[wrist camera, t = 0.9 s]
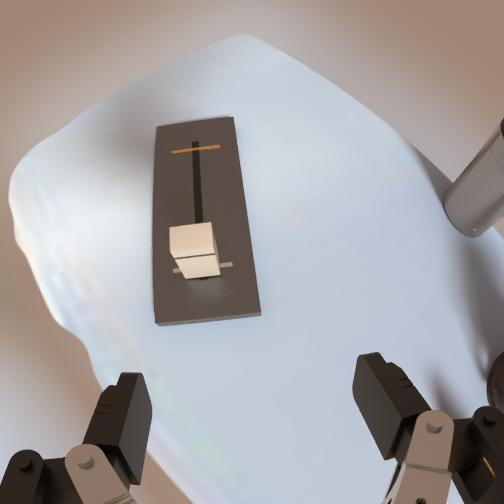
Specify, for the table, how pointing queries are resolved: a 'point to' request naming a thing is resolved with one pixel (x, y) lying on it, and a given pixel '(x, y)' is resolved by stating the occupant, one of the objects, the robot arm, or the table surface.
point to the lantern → (496, 384)
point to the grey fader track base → (201, 211)
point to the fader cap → (195, 250)
